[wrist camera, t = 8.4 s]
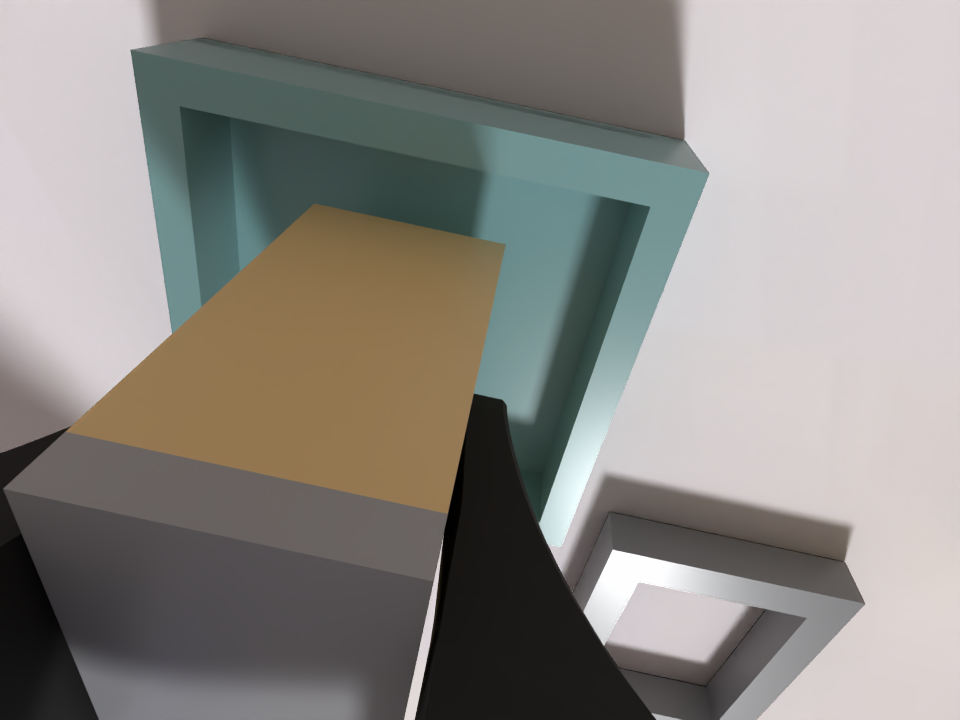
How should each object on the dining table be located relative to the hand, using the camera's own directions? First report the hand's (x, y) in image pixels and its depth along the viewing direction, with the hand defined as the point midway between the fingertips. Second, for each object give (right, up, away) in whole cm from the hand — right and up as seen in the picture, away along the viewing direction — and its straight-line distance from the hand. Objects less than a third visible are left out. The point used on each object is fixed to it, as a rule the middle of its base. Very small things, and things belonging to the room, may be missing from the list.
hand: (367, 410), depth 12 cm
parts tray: (+1, +3, +4) cm, 5 cm away
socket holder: (+9, -9, +10) cm, 16 cm away
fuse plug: (0, +1, +2) cm, 2 cm away
